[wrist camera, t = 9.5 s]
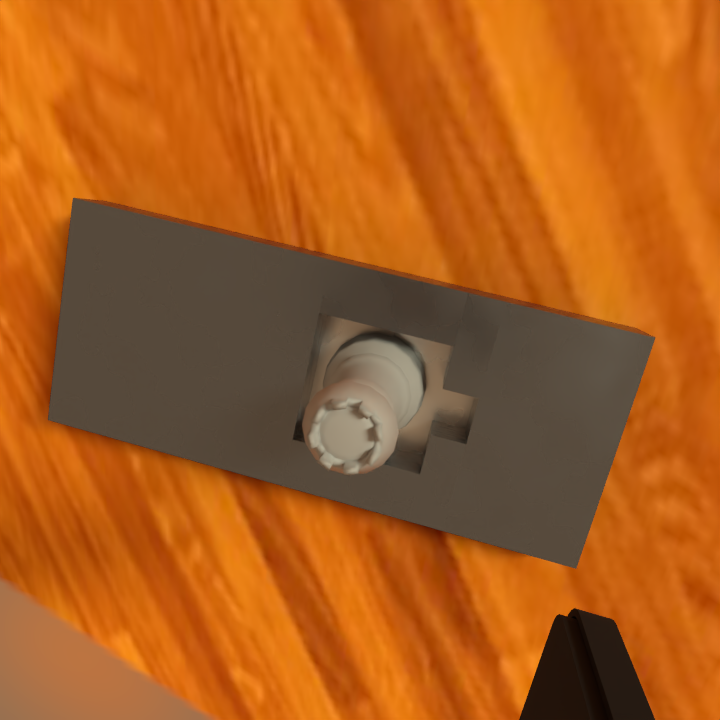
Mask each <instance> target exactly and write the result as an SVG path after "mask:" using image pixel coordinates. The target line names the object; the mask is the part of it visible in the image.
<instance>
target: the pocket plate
mask: <svg viewBox="0 0 720 720" xmlns="http://www.w3.org/2000/svg"><path fill="white" fill-rule="evenodd" d="M371 333H381V334H385V335H388V336H392V337H396V338H398V339H399V340H401V341H402V342H403V343H405V344H406V345H407V346H409V347H410V348H411V349H413V350H414V352H415V354H416V355H417V357H418V359H419V360H420V362H421V364H422V365H423V367H424V373H425V380H426V391H425V394H424V398H423V402H422V405H421V407H420V408H419V411H418V412H417V413H416V414H415V416H414V417H413V418H412V419H411V421H410V422H409V423H408V424H407V426H405V427H403V428H401V429H399V430H398V431H399V434H398V438H397V442H396V445H395V449H394V452H393V453H392V454H391V455H390V457H389V458H388V459H387V460H386V461H385V463H384V464H383V465H382V466H380V467H378V468H376V469H374V470H372V471H370V472H368V473H365V474H354V475H343V473H339V472H336V471H332V470H329V471H328V470H327V469H325V468H324V467H323V466H321V465H320V464H319V463H317V461H318V460H316V459H315V458H314V456H313V454H312V453H311V451H310V450H309V448H308V446H307V445H306V443H305V439H304V433H303V428H302V422H303V418H304V414H305V409H306V406H307V405H308V404H309V402H310V401H311V400H312V398H313V397H314V396H315V394H316V393H317V392H319V391H320V390H322V389H323V380H324V376H325V372H326V367H327V365H328V363H329V361H330V359H331V358H332V357H333V355H334V354H335V353H336V351H337V350H338V349H339V347H340V346H341V345H342V344H344V343H346V342H347V341H349V340H351V339H352V338H354V337H356V336H357V335H364V334H371ZM654 340H655V337H653V336H651V335H649V334H647V333H645V332H643V331H641V330H639V329H637V328H633V327H629V326H625V325H621V324H617V323H612V322H608V321H604V320H600V319H596V318H591V317H587V316H583V315H579V314H575V313H571V312H566V311H562V310H558V309H554V308H550V307H546V306H541V305H537V304H533V303H529V302H525V301H521V300H516V299H512V298H508V297H504V296H500V295H495V294H491V293H487V292H483V291H479V290H475V289H470V288H466V287H462V286H458V285H454V284H450V283H445V282H441V281H437V280H433V279H429V278H424V277H420V276H416V275H412V274H408V273H404V272H399V271H395V270H391V269H387V268H383V267H379V266H374V265H370V264H366V263H362V262H358V261H354V260H349V259H345V258H341V257H337V256H333V255H328V254H324V253H320V252H316V251H312V250H308V249H303V248H299V247H295V246H291V245H287V244H283V243H278V242H274V241H270V240H266V239H262V238H257V237H253V236H249V235H245V234H241V233H237V232H232V231H228V230H224V229H220V228H216V227H212V226H207V225H203V224H199V223H195V222H191V221H186V220H182V219H178V218H174V217H170V216H166V215H161V214H157V213H153V212H149V211H145V210H141V209H136V208H132V207H128V206H124V205H120V204H116V203H111V202H107V201H100V200H90V199H80V198H73V202H72V211H71V220H70V229H69V238H68V246H67V255H66V264H65V273H64V282H63V291H62V300H61V309H60V317H59V326H58V335H57V344H56V353H55V362H54V371H53V379H52V388H51V397H50V406H49V415H48V420H50V421H53V422H57V423H60V424H64V425H68V426H71V427H75V428H78V429H82V430H85V431H89V432H92V433H96V434H100V435H103V436H107V437H110V438H114V439H117V440H121V441H125V442H128V443H132V444H135V445H139V446H142V447H146V448H149V449H153V450H157V451H160V452H164V453H167V454H171V455H174V456H178V457H181V458H185V459H189V460H192V461H196V462H199V463H203V464H206V465H210V466H213V467H217V468H221V469H224V470H228V471H231V472H235V473H238V474H242V475H245V476H249V477H253V478H256V479H260V480H263V481H267V482H270V483H274V484H277V485H281V486H285V487H288V488H292V489H295V490H299V491H302V492H306V493H309V494H313V495H317V496H320V497H324V498H327V499H331V500H334V501H338V502H341V503H345V504H349V505H352V506H356V507H359V508H363V509H366V510H370V511H373V512H377V513H381V514H384V515H388V516H391V517H395V518H398V519H402V520H405V521H409V522H413V523H416V524H420V525H423V526H427V527H430V528H434V529H437V530H441V531H445V532H448V533H452V534H455V535H459V536H462V537H466V538H469V539H473V540H477V541H480V542H484V543H487V544H491V545H494V546H498V547H501V548H505V549H509V550H512V551H516V552H519V553H523V554H526V555H530V556H533V557H537V558H541V559H544V560H548V561H551V562H555V563H558V564H562V565H565V566H569V567H573V568H576V567H577V565H578V562H579V559H580V556H581V553H582V550H583V547H584V544H585V541H586V538H587V535H588V532H589V530H590V527H591V524H592V521H593V518H594V515H595V512H596V509H597V506H598V503H599V500H600V498H601V495H602V492H603V489H604V486H605V483H606V480H607V477H608V474H609V471H610V468H611V465H612V463H613V460H614V457H615V454H616V451H617V448H618V445H619V442H620V439H621V436H622V433H623V430H624V428H625V425H626V422H627V419H628V416H629V413H630V410H631V407H632V404H633V401H634V398H635V396H636V393H637V390H638V387H639V384H640V381H641V378H642V375H643V372H644V369H645V366H646V363H647V361H648V358H649V355H650V352H651V349H652V346H653V343H654Z"/></svg>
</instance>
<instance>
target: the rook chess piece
mask: <svg viewBox="0 0 720 720" xmlns="http://www.w3.org/2000/svg"><path fill="white" fill-rule="evenodd" d="M425 391H426V380H425V373H424V367H423V365H422V364H421V362H420V360H419V359H418V357H417V355H416V354H415V352H414V350H413V349H411V348H410V347H409V346H407V345H406V344H405V343H403V342H402V341H401V340H399V339H398V338H396V337H392V336H388V335H385V334H381V333H371V334H364V335H357V336H356V337H354V338H352V339H351V340H349V341H347V342H346V343H344V344H342V345H341V346H340V347H339V349H338V350H337V351H336V353H335V354H334V355H333V357H332V358H331V359H330V361H329V363H328V365H327V367H326V372H325V376H324V380H323V389H322V390H320V391H319V392H317V393H316V394H315V396H314V397H313V398H312V400H311V401H310V402H309V404H308V405H307V406H306V409H305V414H304V418H303V422H302V428H303V433H304V439H305V443H306V445H307V446H308V448H309V450H310V451H311V453H312V454H313V456H314V458H315V459H316V460H318V461H317V463H319V464H320V465H321V466H323V467H324V468H325V469H327V470H328V471H329V470H332V471H336V472H339V473H343V475H354V474H365V473H368V472H370V471H372V470H374V469H376V468H378V467H380V466H382V465H383V464H384V463H385V461H386V460H387V459H388V458H389V457H390V455H391V454H392V453H393V452H394V449H395V445H396V442H397V438H398V434H399V431H398V430H399V429H401V428H403V427H405V426H407V424H408V423H409V422H410V421H411V419H412V418H413V417H414V416H415V414H416V413H417V412H418V411H419V408H420V407H421V405H422V402H423V398H424V394H425Z"/></svg>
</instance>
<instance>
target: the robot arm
mask: <svg viewBox="0 0 720 720" xmlns="http://www.w3.org/2000/svg"><path fill="white" fill-rule="evenodd" d="M519 720H655V718H654V716H653V713H652V711H651V708H650V706H649V704H648V701H647V699H646V696H645V694H644V691H643V689H642V686H641V684H640V681H639V679H638V676H637V674H636V672H635V669H634V667H633V664H632V662H631V659H630V657H629V654H628V652H627V649H626V647H625V645H624V642H623V640H622V637H621V635H620V632H619V630H618V627H617V625H616V623H615V622H614V620H612V619H610V618H606V617H603V616H599V615H596V614H592V613H589V612H585V611H582V610H579V609H575V608H574V609H573V610H571V612H570V613H569V614H568V617H567V616H563V615H560V614H559V615H557V616H556V618H555V619H554V622H553V624H552V627H551V630H550V633H549V636H548V639H547V641H546V644H545V647H544V650H543V653H542V656H541V659H540V662H539V664H538V667H537V670H536V673H535V676H534V679H533V682H532V684H531V687H530V690H529V693H528V696H527V699H526V702H525V704H524V707H523V710H522V713H521V716H520V719H519Z"/></svg>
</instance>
